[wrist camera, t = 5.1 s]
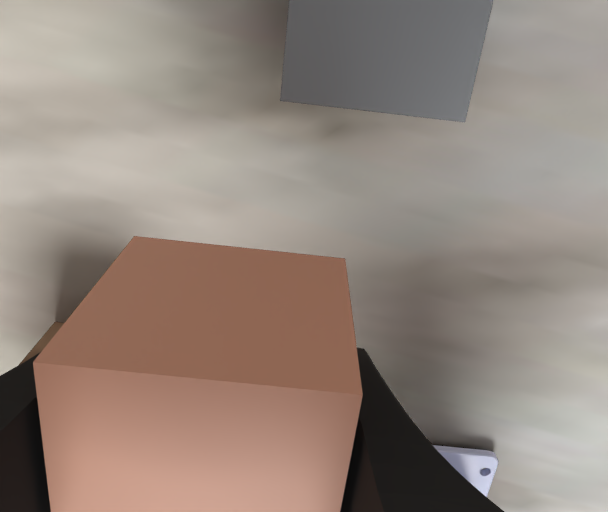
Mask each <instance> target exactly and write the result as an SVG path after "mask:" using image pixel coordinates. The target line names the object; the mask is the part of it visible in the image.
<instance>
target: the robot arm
mask: <svg viewBox="0 0 608 512" xmlns="http://www.w3.org/2000/svg"><path fill="white" fill-rule="evenodd" d="M41 352H42V351H41ZM41 352H40V353H41ZM40 353H38V354H37V355H35V356H33V357H32V358H30V359H28V360H27V361H25V362H24V363H22V364H20V365H19V366H17V367H15V368H13V369H12V370H10V371H8V372H6V373H5V374H3V375H1V376H0V512H51V509H50V500H49V492H48V484H47V475H46V467H45V459H44V451H43V442H42V434H41V426H40V417H39V409H38V401H37V393H36V384H35V376H34V368H33V362H34V360H35V359H36V358H37V357H38V355H39V354H40ZM357 355H358V362H359V370H360V378H361V385H362V393H363V396H362V401H361V407H360V412H359V417H358V422H357V427H356V432H355V438H354V443H353V448H352V453H351V458H350V463H349V469H348V474H347V479H346V484H345V489H344V494H343V499H342V505H341V510H340V512H504V511H503V510H501V509H500V508H499V507H498V506H496V505H495V504H494V503H493V502H491V501H490V500H489V499H488V498H487V495H488V492H489V489H490V486H491V483H492V480H493V477H494V474H495V472H496V469H497V466H498V459H497V457H496V455H495V453H494V452H492V451H489V450H479V449H468V448H458V447H448V446H437V445H432V444H431V443H430V442H429V441H428V440H427V438H426V437H425V436H424V435H423V434H422V432H421V431H420V430H419V429H418V427H417V426H416V425H415V424H414V422H413V421H412V420H411V418H410V417H409V416H408V415H407V413H406V412H405V410H404V409H403V408H402V406H401V405H400V403H399V402H398V401H397V399H396V398H395V396H394V395H393V394H392V392H391V391H390V389H389V388H388V386H387V385H386V383H385V381H384V380H383V378H382V377H381V375H380V373H379V372H378V370H377V369H376V367H375V365H374V364H373V362H372V360H371V358H370V357H369V355H368V353H367V352H366V351H365V350H364V349H361V348H357ZM483 468H486V469H483ZM481 469H482V470H481Z"/></svg>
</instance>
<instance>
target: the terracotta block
mask: <svg viewBox="0 0 608 512" xmlns="http://www.w3.org/2000/svg"><path fill="white" fill-rule="evenodd" d="M33 368H34V376H35V384H36V393H37V401H38V409H39V417H40V426H41V434H42V442H43V451H44V459H45V467H46V475H47V484H48V492H49V500H50V509H51V512H340V510H341V505H342V499H343V494H344V489H345V484H346V479H347V474H348V469H349V463H350V458H351V453H352V448H353V443H354V438H355V432H356V427H357V422H358V417H359V412H360V407H361V401H362V396H363V393H362V385H361V378H360V370H359V362H358V355H357V347H356V339H355V331H354V324H353V316H352V308H351V301H350V293H349V285H348V278H347V270H346V262H345V259H344V258H334V257H325V256H315V255H306V254H297V253H287V252H278V251H269V250H259V249H250V248H241V247H231V246H222V245H213V244H203V243H194V242H184V241H175V240H166V239H156V238H147V237H138V236H134V237H133V238H132V240H131V241H130V242H129V243H128V245H127V246H126V247H125V248H124V250H123V251H122V252H121V253H120V255H119V256H118V257H117V258H116V260H115V261H114V262H113V263H112V264H111V266H110V267H109V268H108V269H107V271H106V272H105V273H104V274H103V276H102V277H101V278H100V279H99V281H98V282H97V283H96V284H95V286H94V287H93V288H92V289H91V291H90V292H89V293H88V294H87V296H86V297H85V298H84V299H83V301H82V302H81V303H80V304H79V306H78V307H77V308H76V309H75V311H74V312H73V313H72V314H71V315H70V317H69V318H68V319H67V320H66V322H65V323H64V324H63V325H62V327H61V328H60V329H59V330H58V332H57V333H56V334H55V335H54V337H53V338H52V339H51V340H50V342H49V343H48V344H47V345H46V347H45V348H44V349H43V350H42V352H41V353H40V354H39V355H38V357H37V358H36V359H35V360H34V362H33Z"/></svg>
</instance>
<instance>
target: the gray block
mask: <svg viewBox="0 0 608 512" xmlns="http://www.w3.org/2000/svg"><path fill="white" fill-rule="evenodd" d="M492 4H493V0H289V9H288V20H287V31H286V42H285V53H284V64H283V75H282V87H281V98H280V101H286V102H294V103H303V104H311V105H320V106H329V107H337V108H346V109H354V110H363V111H372V112H380V113H389V114H397V115H406V116H414V117H423V118H432V119H440V120H449V121H457V122H465V120H466V116H467V112H468V107H469V103H470V99H471V94H472V90H473V86H474V82H475V77H476V73H477V69H478V64H479V60H480V56H481V51H482V47H483V43H484V39H485V34H486V30H487V26H488V21H489V17H490V13H491V8H492Z"/></svg>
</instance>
